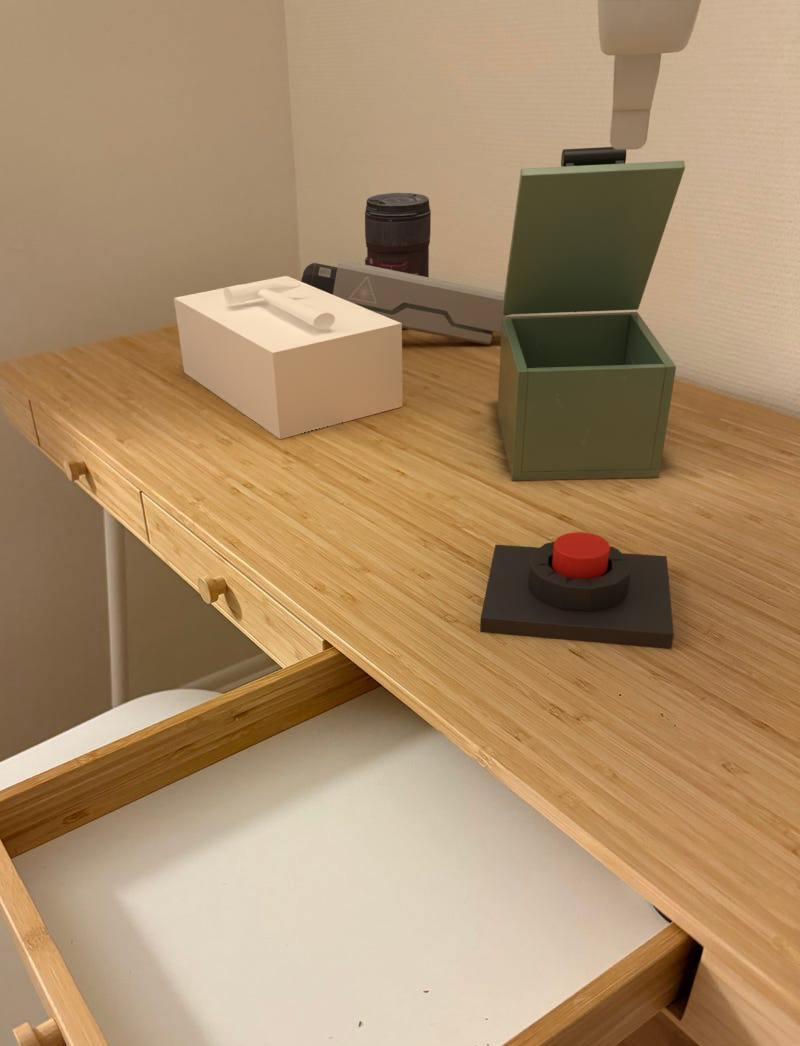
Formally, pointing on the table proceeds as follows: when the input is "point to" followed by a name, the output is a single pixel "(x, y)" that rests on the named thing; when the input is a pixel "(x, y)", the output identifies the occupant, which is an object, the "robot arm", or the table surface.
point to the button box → (579, 599)
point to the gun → (414, 299)
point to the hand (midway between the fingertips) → (626, 145)
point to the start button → (580, 555)
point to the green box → (583, 396)
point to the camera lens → (398, 232)
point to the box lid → (588, 232)
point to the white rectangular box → (291, 354)
